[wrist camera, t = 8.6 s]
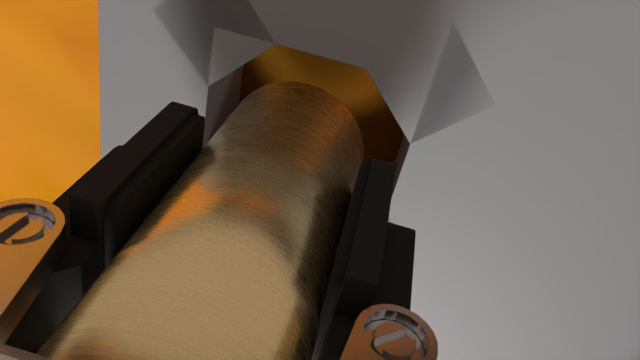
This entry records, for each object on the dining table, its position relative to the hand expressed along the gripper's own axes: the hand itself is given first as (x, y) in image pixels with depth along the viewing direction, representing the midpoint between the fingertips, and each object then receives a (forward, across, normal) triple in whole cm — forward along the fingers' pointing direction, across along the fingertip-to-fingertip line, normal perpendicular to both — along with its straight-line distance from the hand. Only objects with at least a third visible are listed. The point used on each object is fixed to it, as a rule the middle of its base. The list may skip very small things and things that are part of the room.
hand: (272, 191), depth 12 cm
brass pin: (+2, 0, 0) cm, 2 cm away
